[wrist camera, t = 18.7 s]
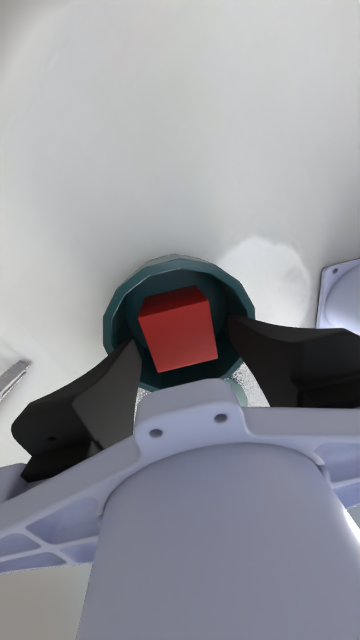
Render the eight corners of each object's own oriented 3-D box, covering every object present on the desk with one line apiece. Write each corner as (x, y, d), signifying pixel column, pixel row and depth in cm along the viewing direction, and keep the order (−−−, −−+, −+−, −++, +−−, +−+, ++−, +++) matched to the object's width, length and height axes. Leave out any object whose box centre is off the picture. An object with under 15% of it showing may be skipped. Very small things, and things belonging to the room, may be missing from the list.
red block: (196, 284, 16) (208, 300, 12) (204, 329, 18) (218, 358, 14) (144, 297, 16) (137, 317, 12) (159, 341, 18) (157, 373, 14)
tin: (223, 241, 15) (251, 240, 10) (234, 344, 20) (258, 378, 15) (102, 271, 16) (73, 285, 11) (141, 367, 20) (134, 408, 15)
